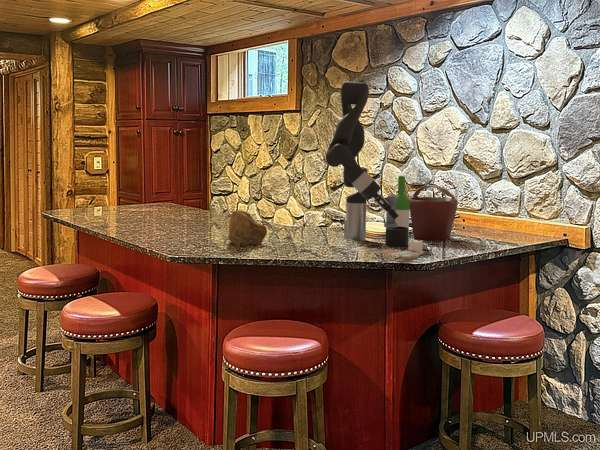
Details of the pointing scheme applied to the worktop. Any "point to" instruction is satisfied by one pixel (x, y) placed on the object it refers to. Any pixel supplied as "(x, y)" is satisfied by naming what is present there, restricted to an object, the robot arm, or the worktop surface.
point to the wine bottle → (402, 205)
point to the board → (402, 255)
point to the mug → (396, 237)
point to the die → (415, 246)
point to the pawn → (389, 219)
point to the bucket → (432, 215)
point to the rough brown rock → (245, 229)
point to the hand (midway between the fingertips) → (396, 216)
